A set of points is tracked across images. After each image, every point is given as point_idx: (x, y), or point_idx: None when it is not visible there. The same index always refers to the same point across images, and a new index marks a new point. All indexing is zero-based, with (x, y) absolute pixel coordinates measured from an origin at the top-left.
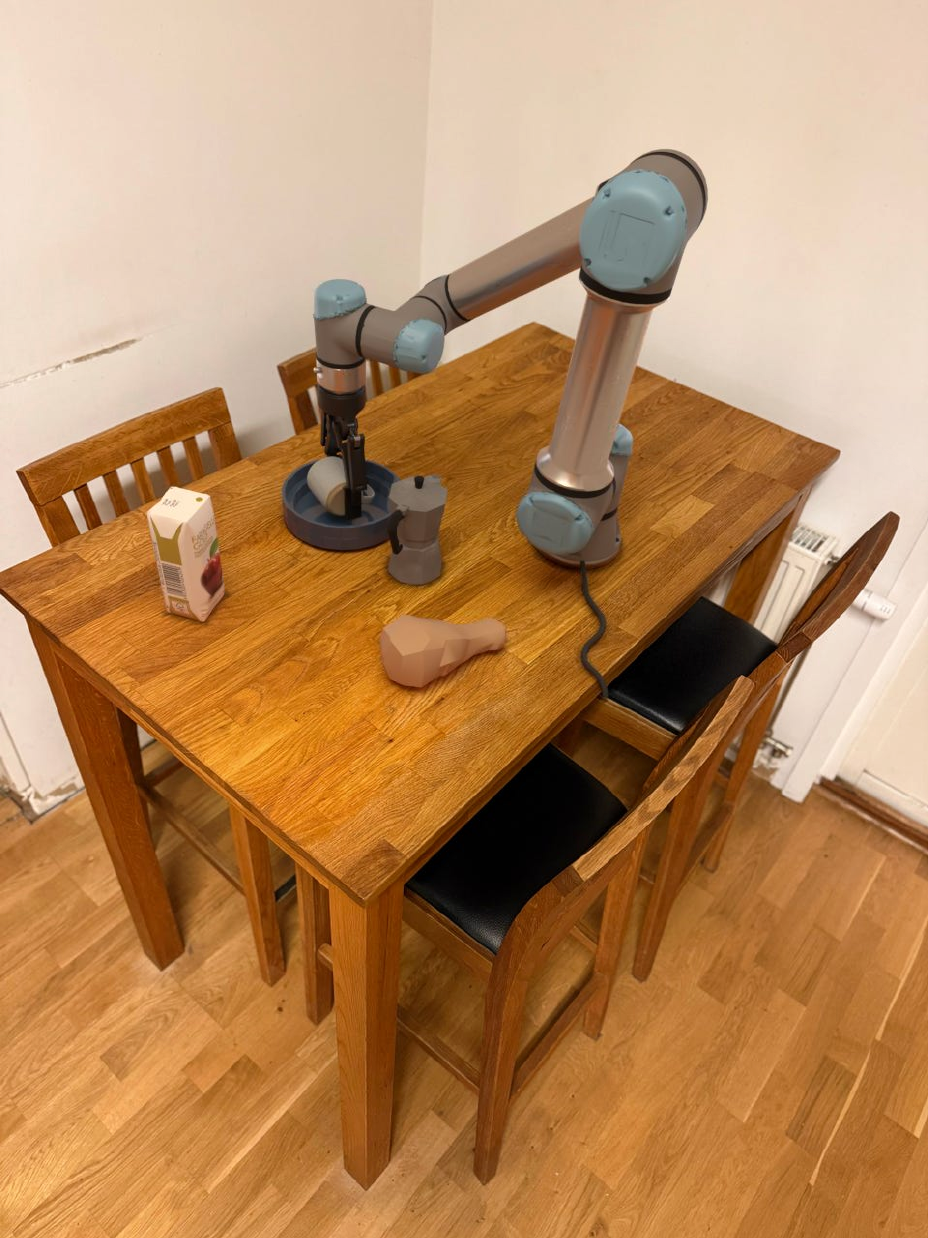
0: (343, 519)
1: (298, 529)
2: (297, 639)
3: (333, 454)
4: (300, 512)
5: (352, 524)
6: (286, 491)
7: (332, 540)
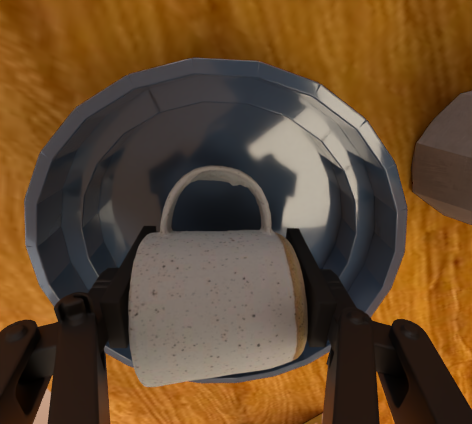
0: None
1: None
2: (460, 368)
3: (103, 329)
4: None
5: (273, 228)
6: None
7: None
